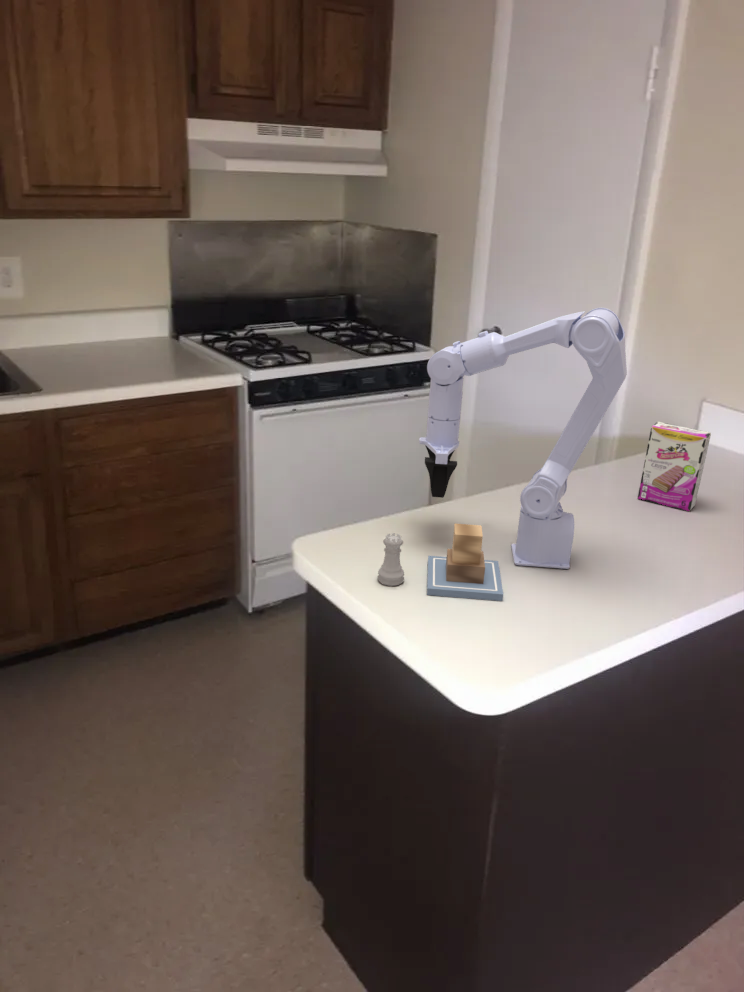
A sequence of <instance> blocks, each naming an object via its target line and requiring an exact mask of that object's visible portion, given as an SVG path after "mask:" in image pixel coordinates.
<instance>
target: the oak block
mask: <svg viewBox="0 0 744 992" xmlns="http://www.w3.org/2000/svg"><path fill="white" fill-rule="evenodd" d="M452 537H453V538H452V546H451V547H452V548H451V549H452V563H463V564H476V565H480V557H481V551H482V547H483V546H482V545H483V538H484V537H483V527H482V525H480V524H479V525H478V524H469V523H468V524H465V523H464V524H463V523H454V525H453V535H452Z"/></svg>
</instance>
